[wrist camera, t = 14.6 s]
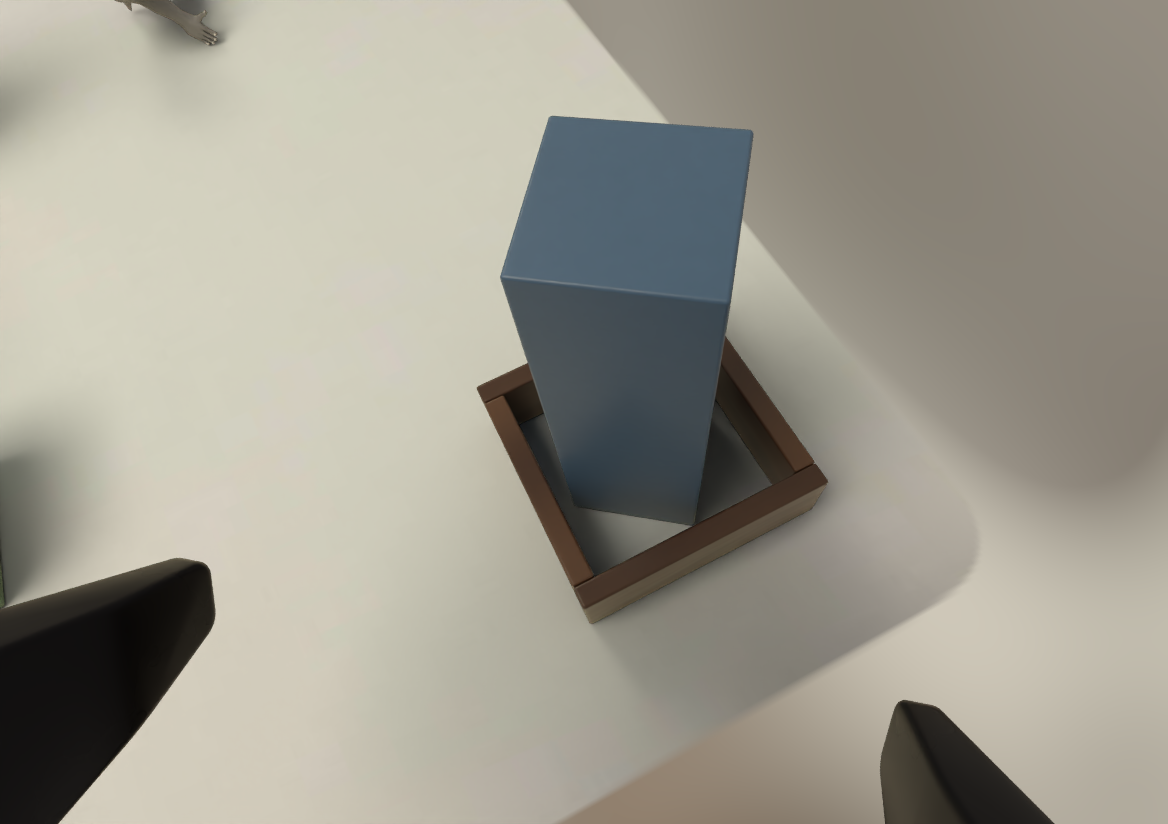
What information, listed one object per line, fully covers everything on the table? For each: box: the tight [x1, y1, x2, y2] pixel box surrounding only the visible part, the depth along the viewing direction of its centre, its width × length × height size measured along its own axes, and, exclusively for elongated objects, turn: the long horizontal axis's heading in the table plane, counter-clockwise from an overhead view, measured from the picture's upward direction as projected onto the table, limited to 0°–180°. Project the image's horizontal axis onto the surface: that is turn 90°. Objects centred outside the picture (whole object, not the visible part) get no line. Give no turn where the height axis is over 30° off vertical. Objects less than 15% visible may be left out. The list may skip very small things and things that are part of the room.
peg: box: [500, 116, 753, 525], centre depth 18 cm, size 4×4×12 cm
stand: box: [477, 336, 828, 624], centre depth 23 cm, size 8×8×2 cm
